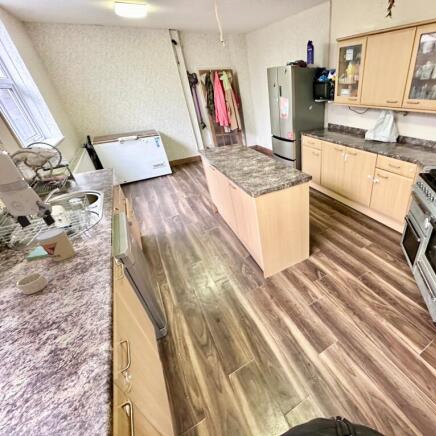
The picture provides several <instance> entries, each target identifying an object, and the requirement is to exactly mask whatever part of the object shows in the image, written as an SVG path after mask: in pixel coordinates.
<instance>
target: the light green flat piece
mask: <svg viewBox="0 0 436 436" xmlns="http://www.w3.org/2000/svg"><path fill="white" fill-rule="evenodd" d="M47 257H50V256H49V254H48V253H47V252H46V251H45V250H44V249H43V247H42V246H41V245H40V246H39V245H38V246H37V247H36V248H35V249H34V250H33V251H31V252H30V253H29V254H28V255H27V256H26V257H25V259H26V261H31V260H32V261H33V260H36V259H42V258H47Z"/></svg>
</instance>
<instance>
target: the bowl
mask: <svg viewBox="0 0 436 436" xmlns="http://www.w3.org/2000/svg"><path fill="white" fill-rule="evenodd" d="M48 284H49V280H48V279H47V278H46V277H45V275H44V274H43V273H42V272H34V273H30V274H28V275H25V276H24V277H22V278H20V279H19V280H17V282H16V283H15V286H16V287H17V288H18V290H19V291H20V292H21V293H22V294H24V295H31V294H35V293H38V292H40V291H42V290H43V289H45V288H46V286H47V285H48Z"/></svg>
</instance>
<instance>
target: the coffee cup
mask: <svg viewBox="0 0 436 436" xmlns="http://www.w3.org/2000/svg"><path fill="white" fill-rule="evenodd" d="M35 241H36V242H37V243H38V244H39V245H40V246H42V247H43V249H44V250H45V251H46V252H47V253H48V254H49V257H50V258H51V259H52V260H53V262H61V261H64V260H67V259H69V258H72V257H73V256H75V254H76V249H75V248H74V246H73V244H72V242H71V240H70V238H69V236H68V234H67V232H66V230H65V229H64V228H60V227H57V228H52V229H49V230H46V231H43V232H41V233H40V234H38V235H36V237H35Z"/></svg>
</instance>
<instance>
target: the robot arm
mask: <svg viewBox="0 0 436 436" xmlns="http://www.w3.org/2000/svg"><path fill="white" fill-rule="evenodd" d="M0 199H1V202H2V203H3V205H4V208H3V209H2V211H3V212H5V213H6V214H8V216H10V217H12V218H13V219H14V220H16V221H17V222H18V223H19V225H20V227H21V228H22V229H25V228H27V227H29V226H30V225H31V224H32V223H31V221H30V220H29V218H28V216H34V215H37V214H38V215H40V216H41V217H42V220H43V221H44V223H45V224H46V226H47V227H50V226H52V225H54V224H56V220H55V219H54V217H53V216H52V214H53V213H52V212H53V205H52V204H50V203H46V202H43V200H42V198H41V197H40V196H39V195H38V194H37V193H36V191H35V190H34V189H33V188H32V187H31V186H30V185H29V183H27V181H26V179H25V178H24V177H23V175H22V173H21V171H20V170H19V169H18V167H17V166H16V164H15V162H14V161H13V159H12V158H11V156H10V155H9V154H8V153H7V152H6V151H0Z"/></svg>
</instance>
